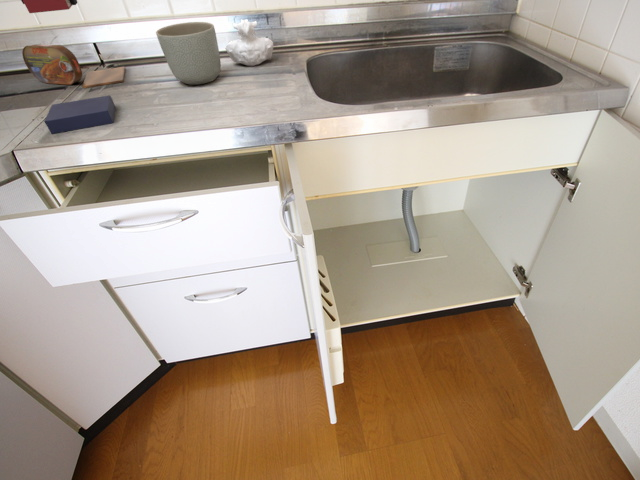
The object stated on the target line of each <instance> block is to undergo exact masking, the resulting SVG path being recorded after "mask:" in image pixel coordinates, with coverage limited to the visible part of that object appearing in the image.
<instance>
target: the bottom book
mask: <svg viewBox="0 0 640 480" xmlns="http://www.w3.org/2000/svg"><path fill="white" fill-rule="evenodd" d="M116 108H117V107H116V104H115V102H114V100H113V97H112V96H111V94H108V95H103V96H97V97H90V98H85V99H79V100H72V101H66V102H65V101H64V102H60V103H54V104H51V106H50V108H49V110H48V112H47V114H46V116H45V119H44V120H43V123H44V124H45V125H46V127H47V129H48V130H49V132H50V134H51V135H54V134H59V133H65V132H70V131H75V130H81V129H82V130H83V129H89V128H92V127H98V126H104V125H109V124H114V121H115V114H116Z"/></svg>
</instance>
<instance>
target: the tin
mask: <svg viewBox="0 0 640 480" xmlns="http://www.w3.org/2000/svg"><path fill="white" fill-rule="evenodd" d="M21 53H22V59H23V62H24V64H25V66H26V68H27V69H28V71H29V72H30V73H31V74H32V75H33V77H35V78H36V80H38V81H40V82H41V83H43V84H49V85H64V86H70V85H73V84H76V83H78V82H79V81H81V80H82V77H83V70H82V68H81V64H80V63H79V61H78V59H77V56H75V54H74V53H73V52H72V51H71V50H70V49H68V48H67V46H63V45H61V44H60V45H59V44H39V43H38V44H37V43H36V44H31V45H25V46H24V47H23V48H22V51H21Z"/></svg>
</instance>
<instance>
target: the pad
mask: <svg viewBox="0 0 640 480" xmlns="http://www.w3.org/2000/svg"><path fill="white" fill-rule="evenodd" d="M125 73H126V67H125V66H119V67H113V68H112V67H111V68H104V69H99V70H92V71H87V72H86V75H85V77H84V80H83V82H82V85H81V87H82V89H88V88H93V87H94V88H95V87H100V86H101V87H102V86H108V85H112V84H120V83H124V80H125Z"/></svg>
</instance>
